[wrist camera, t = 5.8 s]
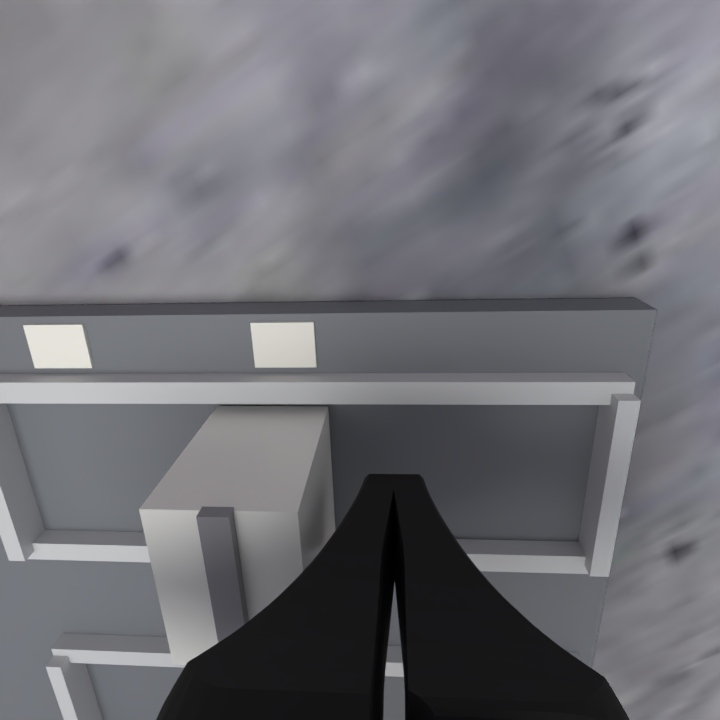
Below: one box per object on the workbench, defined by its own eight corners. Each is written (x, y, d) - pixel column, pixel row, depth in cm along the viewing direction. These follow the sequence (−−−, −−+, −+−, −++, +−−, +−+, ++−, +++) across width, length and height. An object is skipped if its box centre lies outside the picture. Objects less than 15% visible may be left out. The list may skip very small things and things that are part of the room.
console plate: (556, 773, 20) (575, 844, 18) (22, 744, 21) (-18, 805, 19) (635, 297, 13) (679, 321, 11) (-150, 307, 15) (-239, 330, 13)
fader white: (335, 531, 15) (309, 683, 10) (235, 529, 15) (168, 677, 11) (328, 404, 13) (295, 518, 9) (216, 404, 14) (131, 515, 9)
